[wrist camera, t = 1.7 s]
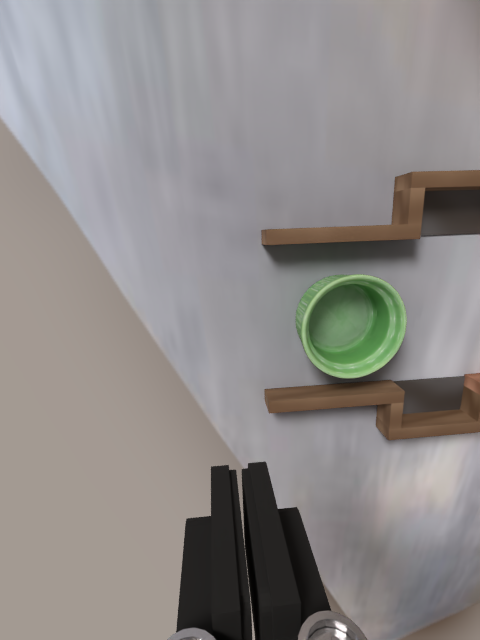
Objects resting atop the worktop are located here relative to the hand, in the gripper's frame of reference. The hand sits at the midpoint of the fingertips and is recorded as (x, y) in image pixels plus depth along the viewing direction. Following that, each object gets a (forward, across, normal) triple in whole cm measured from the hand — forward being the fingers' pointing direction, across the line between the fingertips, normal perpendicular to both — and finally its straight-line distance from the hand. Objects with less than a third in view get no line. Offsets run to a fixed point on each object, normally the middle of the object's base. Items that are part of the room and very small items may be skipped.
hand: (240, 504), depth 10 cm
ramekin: (+21, -11, 0) cm, 24 cm away
